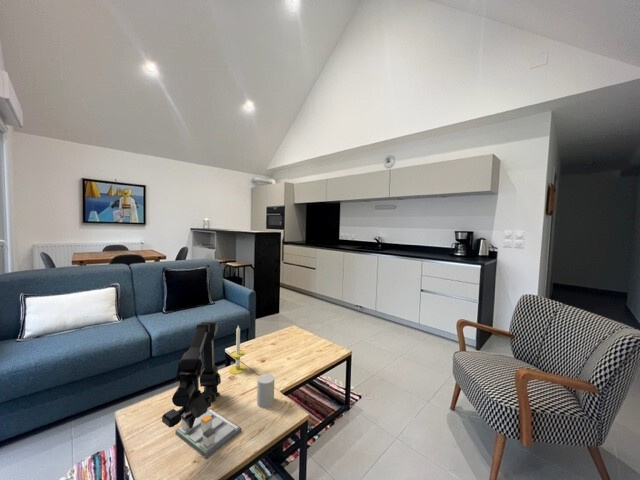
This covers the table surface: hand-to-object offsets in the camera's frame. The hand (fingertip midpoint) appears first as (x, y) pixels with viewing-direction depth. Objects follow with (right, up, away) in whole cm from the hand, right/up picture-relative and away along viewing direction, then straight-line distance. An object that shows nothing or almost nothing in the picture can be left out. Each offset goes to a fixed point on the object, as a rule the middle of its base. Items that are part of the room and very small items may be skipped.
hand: (190, 427), depth 103 cm
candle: (+1, -4, +55) cm, 55 cm away
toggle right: (+8, -5, -1) cm, 9 cm away
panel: (+4, -7, +7) cm, 11 cm away
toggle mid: (+4, -4, +6) cm, 8 cm away
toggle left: (-5, -4, +6) cm, 9 cm away
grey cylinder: (+24, -7, +27) cm, 36 cm away
